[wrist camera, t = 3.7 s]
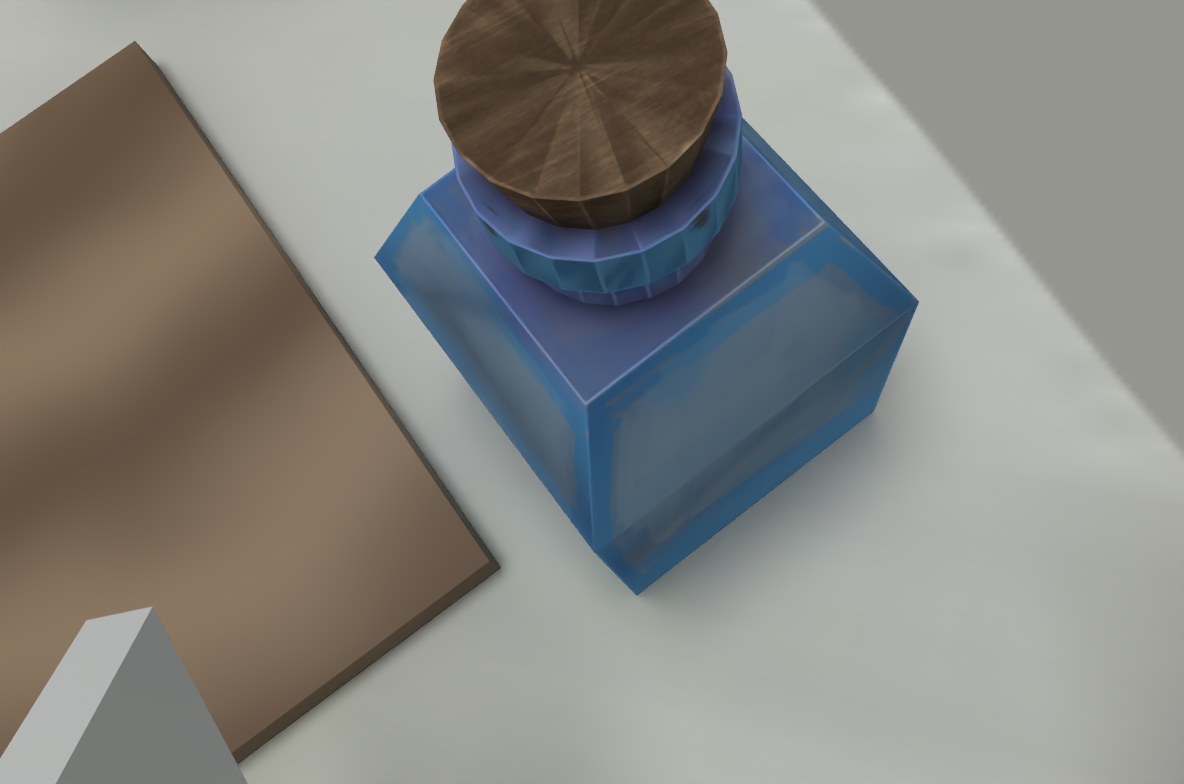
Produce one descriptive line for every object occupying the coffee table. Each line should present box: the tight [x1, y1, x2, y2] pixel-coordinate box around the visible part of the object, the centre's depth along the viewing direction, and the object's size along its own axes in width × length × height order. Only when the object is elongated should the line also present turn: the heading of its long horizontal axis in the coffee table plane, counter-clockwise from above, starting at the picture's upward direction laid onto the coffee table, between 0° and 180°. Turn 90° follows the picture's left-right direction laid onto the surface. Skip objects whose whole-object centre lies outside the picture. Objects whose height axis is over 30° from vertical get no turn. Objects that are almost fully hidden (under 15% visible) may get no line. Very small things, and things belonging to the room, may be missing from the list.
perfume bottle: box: [374, 0, 919, 595], centre depth 17 cm, size 6×6×12 cm
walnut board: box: [0, 41, 500, 764], centre depth 24 cm, size 16×14×1 cm
